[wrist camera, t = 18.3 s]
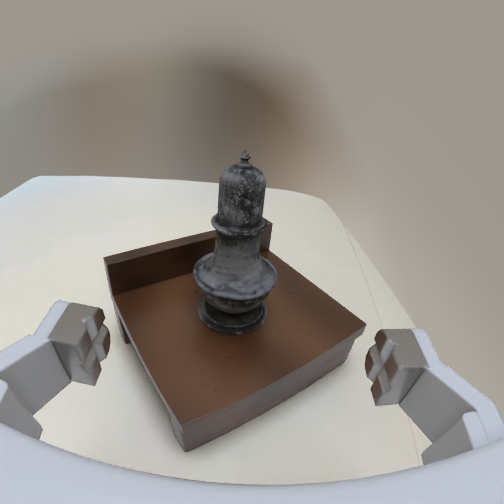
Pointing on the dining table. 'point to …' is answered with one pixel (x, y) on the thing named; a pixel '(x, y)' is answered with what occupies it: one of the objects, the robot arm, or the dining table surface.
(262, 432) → the dining table surface
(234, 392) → the shelf
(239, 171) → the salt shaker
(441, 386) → the robot arm
